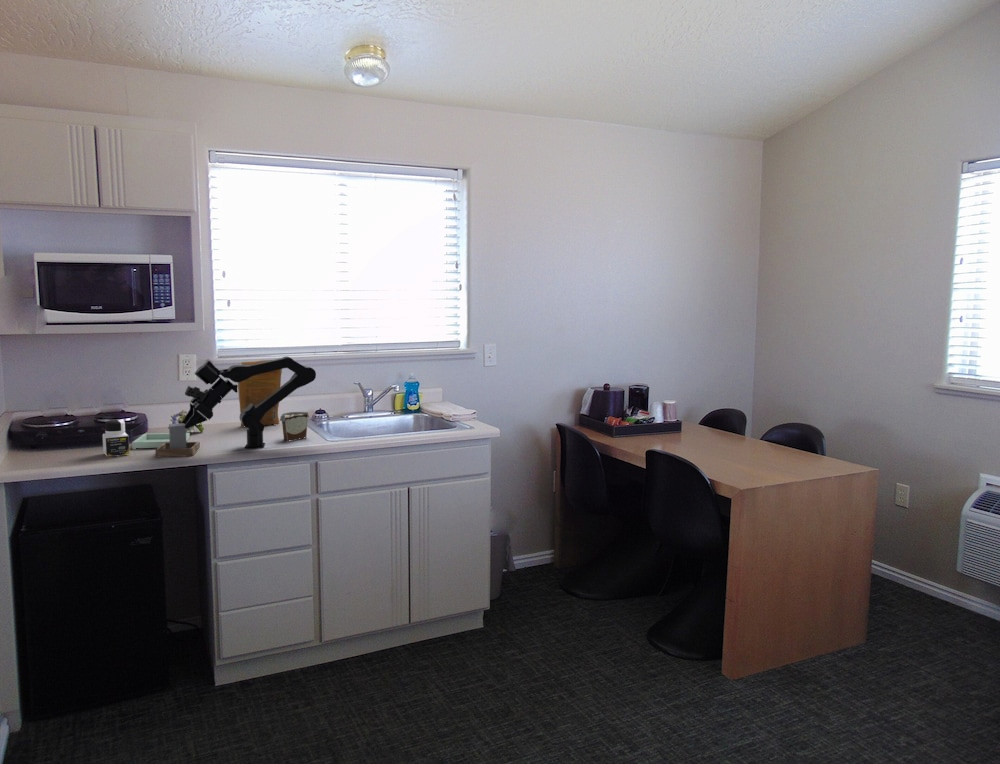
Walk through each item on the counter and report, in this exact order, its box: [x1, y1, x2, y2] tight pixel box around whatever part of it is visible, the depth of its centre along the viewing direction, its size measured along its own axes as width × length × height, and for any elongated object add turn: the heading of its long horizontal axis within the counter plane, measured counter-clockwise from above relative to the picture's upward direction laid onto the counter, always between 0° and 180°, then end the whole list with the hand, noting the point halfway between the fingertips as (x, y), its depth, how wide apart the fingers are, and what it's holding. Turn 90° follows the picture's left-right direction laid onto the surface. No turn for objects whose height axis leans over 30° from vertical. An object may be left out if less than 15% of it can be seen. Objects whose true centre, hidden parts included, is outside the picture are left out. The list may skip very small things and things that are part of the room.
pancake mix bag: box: [237, 359, 283, 427], centre depth 310 cm, size 7×19×28 cm, turn 124°
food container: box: [279, 411, 310, 442], centre depth 285 cm, size 12×6×10 cm, turn 146°
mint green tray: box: [131, 432, 191, 450], centre depth 271 cm, size 16×16×3 cm
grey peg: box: [168, 423, 186, 449], centre depth 258 cm, size 5×5×10 cm
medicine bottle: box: [102, 419, 130, 457], centre depth 253 cm, size 7×7×12 cm
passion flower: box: [167, 408, 205, 433], centre depth 292 cm, size 11×11×12 cm
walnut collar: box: [154, 441, 201, 457], centre depth 258 cm, size 12×12×2 cm
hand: (184, 425), depth 258 cm, fingers open, 9 cm apart
